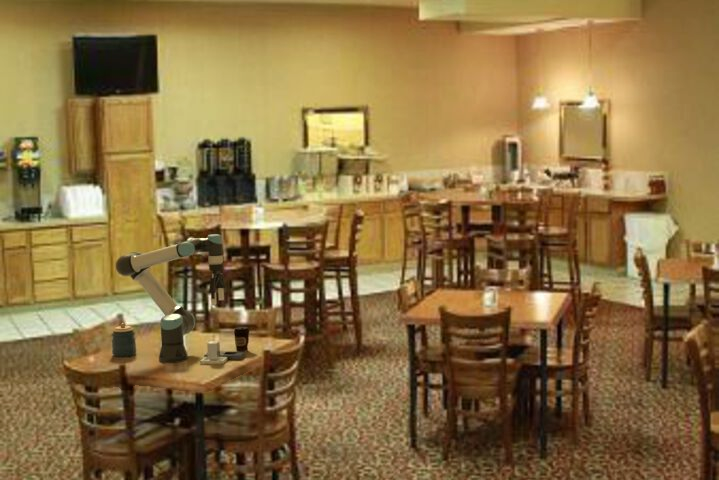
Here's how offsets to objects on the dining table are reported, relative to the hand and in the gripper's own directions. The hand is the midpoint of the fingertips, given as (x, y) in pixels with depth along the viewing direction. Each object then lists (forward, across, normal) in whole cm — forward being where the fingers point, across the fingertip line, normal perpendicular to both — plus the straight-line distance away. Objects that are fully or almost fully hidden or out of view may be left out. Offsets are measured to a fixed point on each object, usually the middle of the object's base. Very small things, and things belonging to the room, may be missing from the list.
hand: (217, 302), depth 542 cm
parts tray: (+29, -17, -2) cm, 33 cm away
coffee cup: (+29, +9, -10) cm, 32 cm away
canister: (+29, -3, +53) cm, 61 cm away
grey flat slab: (+29, -7, -5) cm, 30 cm away
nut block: (+28, -17, -2) cm, 33 cm away
